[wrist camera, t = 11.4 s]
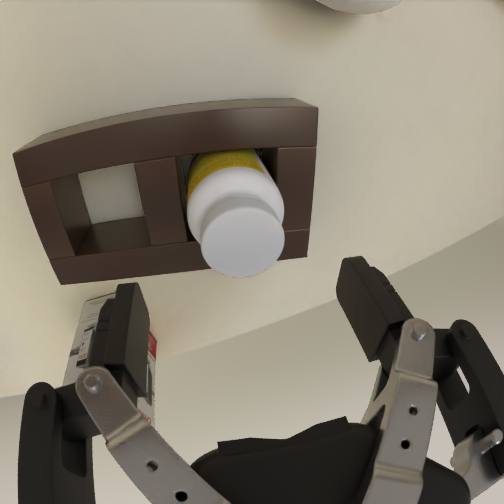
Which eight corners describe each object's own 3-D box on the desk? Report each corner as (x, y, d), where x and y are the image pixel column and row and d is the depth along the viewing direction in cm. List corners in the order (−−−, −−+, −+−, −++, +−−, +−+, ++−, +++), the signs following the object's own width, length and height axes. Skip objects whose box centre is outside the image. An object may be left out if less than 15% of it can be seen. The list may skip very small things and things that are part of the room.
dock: (41, 135, 17) (11, 153, 13) (295, 98, 19) (318, 107, 15) (76, 252, 23) (60, 285, 19) (290, 226, 25) (307, 257, 22)
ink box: (159, 341, 31) (158, 437, 22) (123, 349, 32) (116, 440, 22) (120, 288, 26) (101, 399, 17) (82, 300, 26) (56, 402, 17)
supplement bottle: (173, 170, 21) (161, 245, 13) (229, 122, 19) (254, 165, 12) (221, 216, 24) (237, 303, 16) (274, 173, 22) (320, 244, 15)
